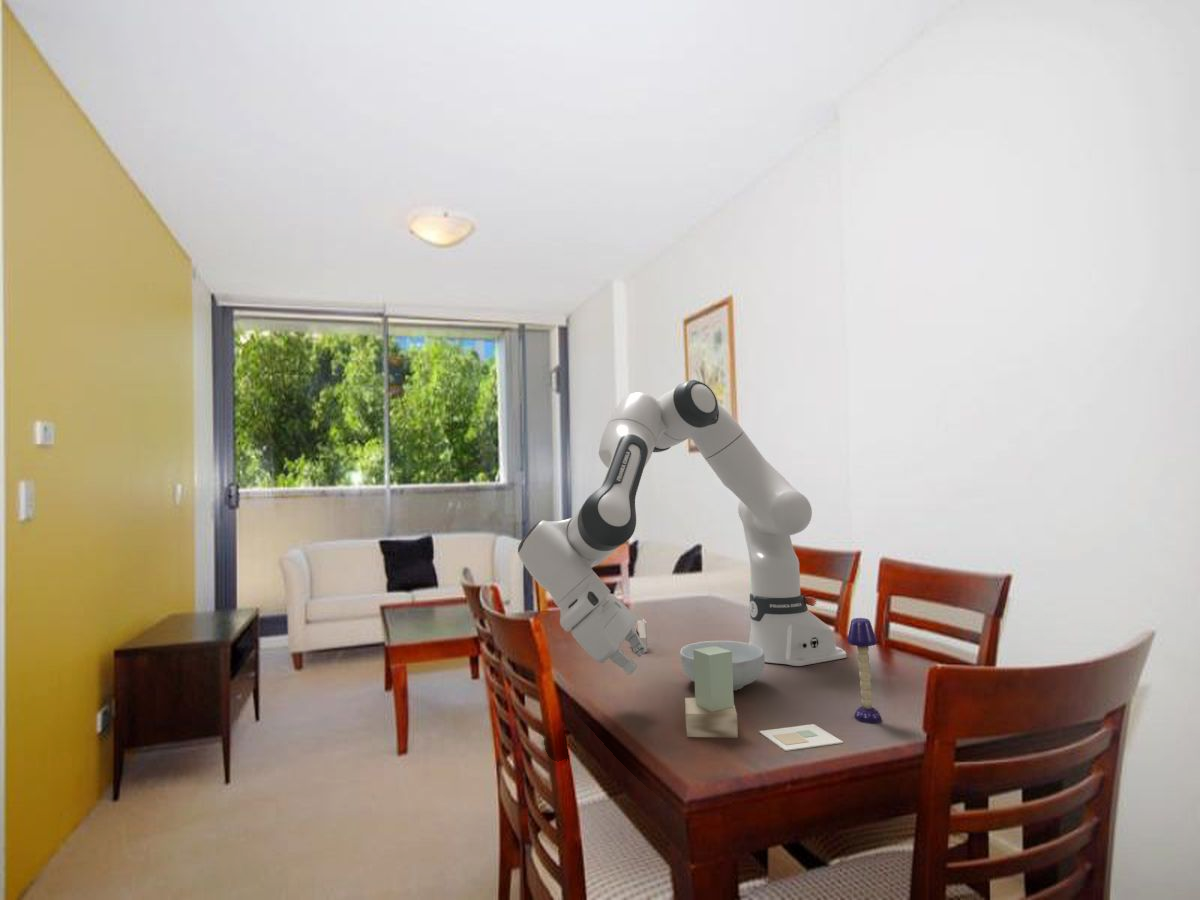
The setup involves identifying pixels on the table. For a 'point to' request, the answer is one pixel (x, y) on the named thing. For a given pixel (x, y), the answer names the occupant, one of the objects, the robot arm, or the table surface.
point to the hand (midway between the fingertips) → (638, 661)
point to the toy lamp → (864, 667)
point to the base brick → (710, 721)
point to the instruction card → (800, 737)
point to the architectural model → (642, 632)
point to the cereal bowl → (744, 660)
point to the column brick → (713, 678)
